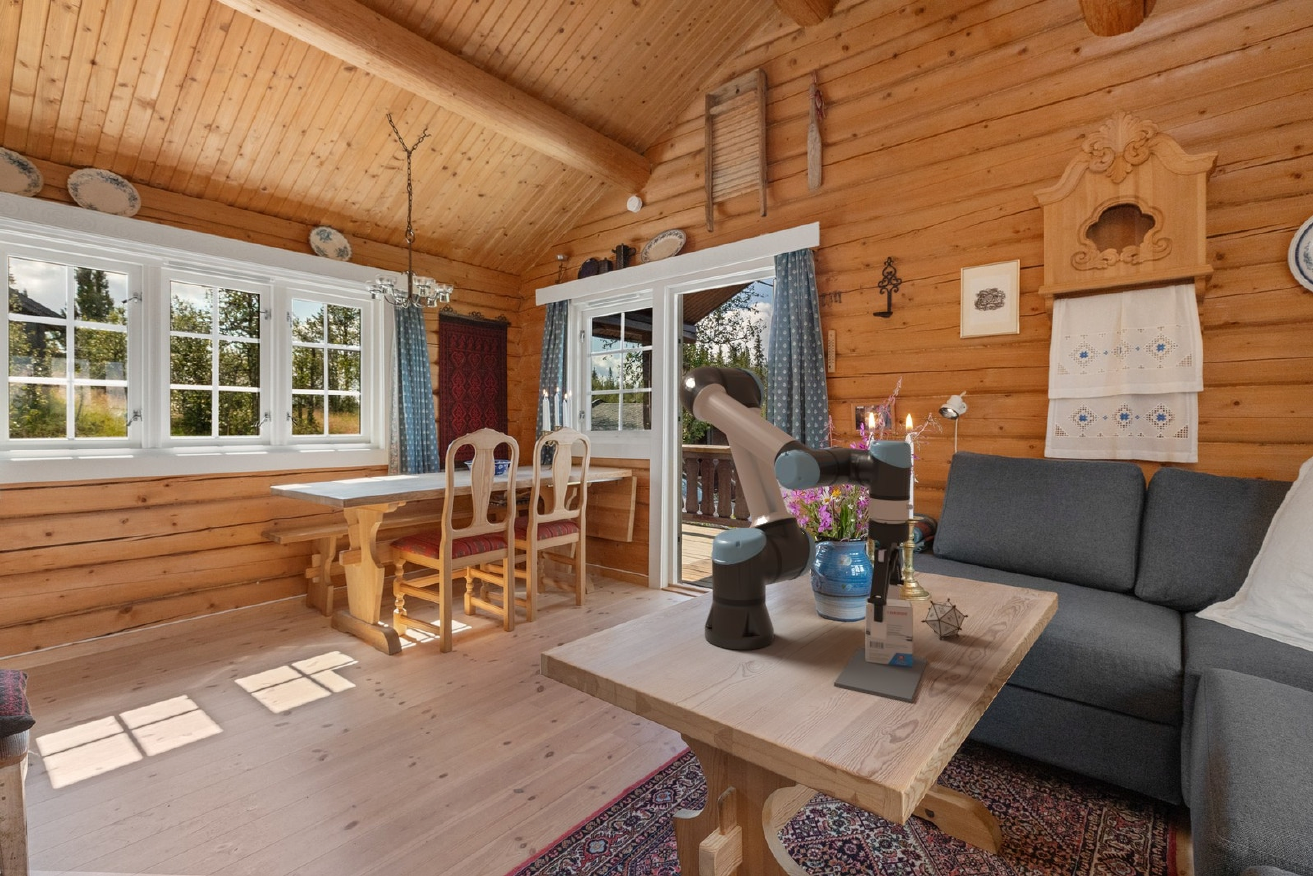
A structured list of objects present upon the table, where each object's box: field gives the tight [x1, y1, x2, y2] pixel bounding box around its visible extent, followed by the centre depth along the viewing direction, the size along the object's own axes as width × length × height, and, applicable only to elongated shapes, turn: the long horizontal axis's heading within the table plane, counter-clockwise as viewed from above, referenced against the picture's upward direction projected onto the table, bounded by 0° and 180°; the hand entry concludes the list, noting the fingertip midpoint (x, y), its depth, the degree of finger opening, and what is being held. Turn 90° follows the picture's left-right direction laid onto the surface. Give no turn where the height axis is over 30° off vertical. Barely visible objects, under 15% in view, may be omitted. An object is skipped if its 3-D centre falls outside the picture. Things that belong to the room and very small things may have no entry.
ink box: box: [864, 597, 914, 667], centre depth 119 cm, size 9×5×12 cm, turn 71°
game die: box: [920, 597, 969, 641], centre depth 134 cm, size 9×8×10 cm
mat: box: [833, 646, 928, 704], centre depth 115 cm, size 13×20×1 cm, turn 149°
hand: (885, 626), depth 120 cm, fingers open, 13 cm apart
